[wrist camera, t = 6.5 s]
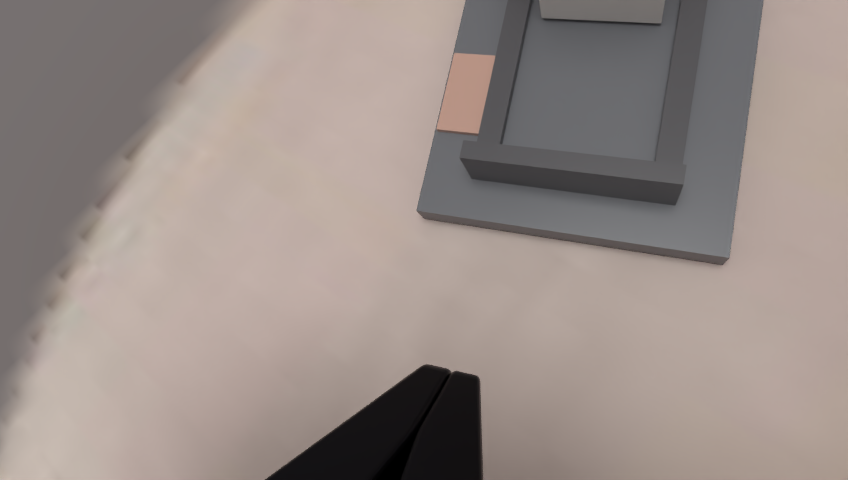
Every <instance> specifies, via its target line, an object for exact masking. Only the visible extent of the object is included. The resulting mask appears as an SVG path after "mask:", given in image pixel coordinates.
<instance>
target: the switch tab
mask: <svg viewBox="0 0 848 480" xmlns="http://www.w3.org/2000/svg"><path fill="white" fill-rule="evenodd" d="M539 4H540V10H541V17H542V18H550V19H572V20H595V21H617V22H639V23H661V22H662V16H663V10H664V4H665V0H539Z"/></svg>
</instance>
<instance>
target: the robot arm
mask: <svg viewBox="0 0 848 480" xmlns="http://www.w3.org/2000/svg"><path fill="white" fill-rule="evenodd" d="M265 480H483V461H482V428H481V395H480V379H479V377H478V376H476V375H472V374H467V373H463V372H459V371H454V372H452V373H451V371H450V370H449V369H446V368H442V367H437V366H433V365H428V364H427V365H423V366H421V367H420V368H418V369H417V370H415V371H414V372H413V373H411V374H410V375H408V376H407V377H406V378H404V379H403V380H402V381H400V382H399V383H397V384H396V385H395V386H393V387H392V388H391V389H389V390H388V391H386V392H385V393H384V394H382V395H381V396H380V397H378V398H377V399H375V400H374V401H373V402H371V403H370V404H369V405H367V406H366V407H364V408H363V409H362V410H360V411H359V412H358V413H356V414H355V415H353V416H352V417H351V418H349V419H348V420H346V421H345V422H344V423H342V424H341V425H340V426H338V427H337V428H335V429H334V430H333V431H331V432H330V433H329V434H327V435H326V436H324V437H323V438H322V439H320V440H319V441H318V442H316V443H315V444H313V445H312V446H311V447H309V448H308V449H307V450H305V451H304V452H302V453H301V454H300V455H298V456H297V457H296V458H294V459H293V460H291V461H290V462H289V463H287V464H286V465H284V466H283V467H282V468H280V469H279V470H278V471H276V472H275V473H273V474H272V475H271V476H269V477H268V478H267V479H265Z"/></svg>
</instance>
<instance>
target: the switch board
mask: <svg viewBox="0 0 848 480" xmlns="http://www.w3.org/2000/svg"><path fill="white" fill-rule="evenodd" d="M762 7H763V0H665V4H664V10H663V16H662V22H661V23H639V22H617V21H595V20H572V19H550V18H542V17H541V10H540V4H539V0H466V2H465V6H464V10H463V14H462V19H461V23H460V27H459V31H458V36H457V40H456V44H455V49H454V53H453V57H452V61H451V66H450V70H449V74H448V78H447V83H446V87H445V91H444V95H443V100H442V104H441V108H440V113H439V117H438V121H437V125H436V130H435V134H434V138H433V142H432V147H431V151H430V155H429V159H428V164H427V168H426V172H425V176H424V181H423V185H422V189H421V194H420V198H419V202H418V206H417V212H418V213H419V214H420V215H421V216H422V217H423V218H424V219H431V220H437V221H444V222H450V223H457V224H463V225H469V226H476V227H482V228H489V229H495V230H502V231H508V232H515V233H521V234H528V235H534V236H540V237H547V238H553V239H560V240H566V241H573V242H579V243H586V244H592V245H599V246H605V247H612V248H618V249H624V250H631V251H637V252H644V253H650V254H657V255H663V256H670V257H676V258H683V259H689V260H696V261H702V262H708V263H715V264H721V265H723V264H724V263H725V262H726V261H727V260H728V259H729V256H730V249H731V241H732V234H733V226H734V218H735V211H736V203H737V196H738V188H739V181H740V173H741V166H742V158H743V151H744V143H745V136H746V128H747V120H748V113H749V105H750V98H751V90H752V83H753V75H754V68H755V60H756V53H757V45H758V38H759V30H760V22H761V15H762Z"/></svg>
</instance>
